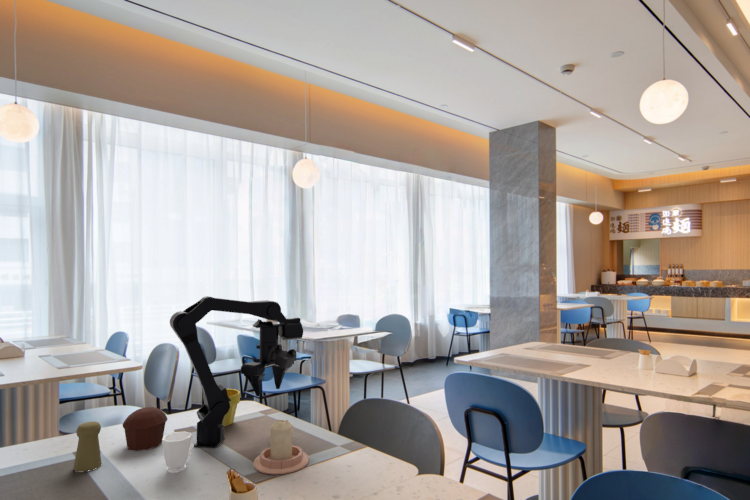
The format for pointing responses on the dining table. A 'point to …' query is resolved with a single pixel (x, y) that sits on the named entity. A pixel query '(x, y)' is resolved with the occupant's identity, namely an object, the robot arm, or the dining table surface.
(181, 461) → the cup
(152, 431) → the muffin
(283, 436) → the candle
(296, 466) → the candle dish
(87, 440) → the cork
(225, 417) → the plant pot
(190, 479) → the dining table surface
